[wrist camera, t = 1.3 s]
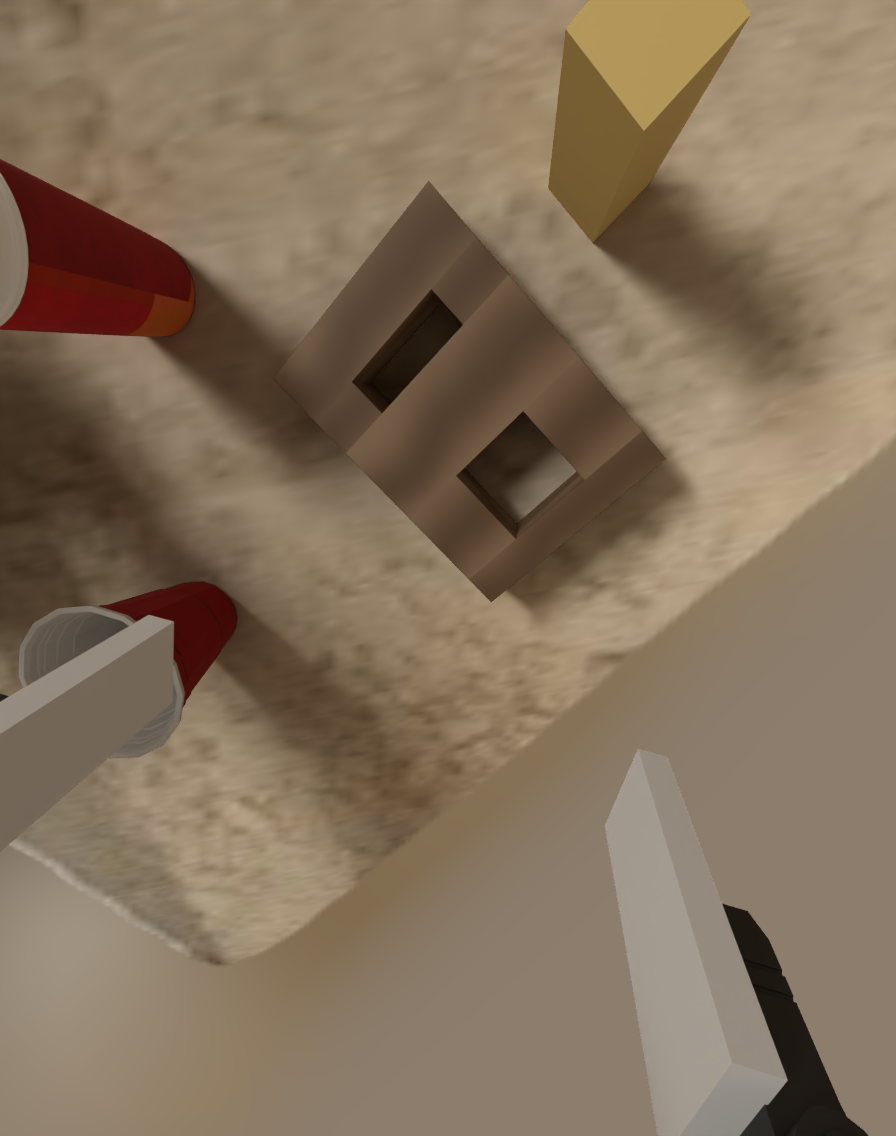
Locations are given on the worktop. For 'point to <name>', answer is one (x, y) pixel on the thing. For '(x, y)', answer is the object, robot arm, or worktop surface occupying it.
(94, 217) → the coffee cup
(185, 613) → the plastic cup
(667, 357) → the worktop surface
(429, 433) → the socket block
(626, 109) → the square peg
